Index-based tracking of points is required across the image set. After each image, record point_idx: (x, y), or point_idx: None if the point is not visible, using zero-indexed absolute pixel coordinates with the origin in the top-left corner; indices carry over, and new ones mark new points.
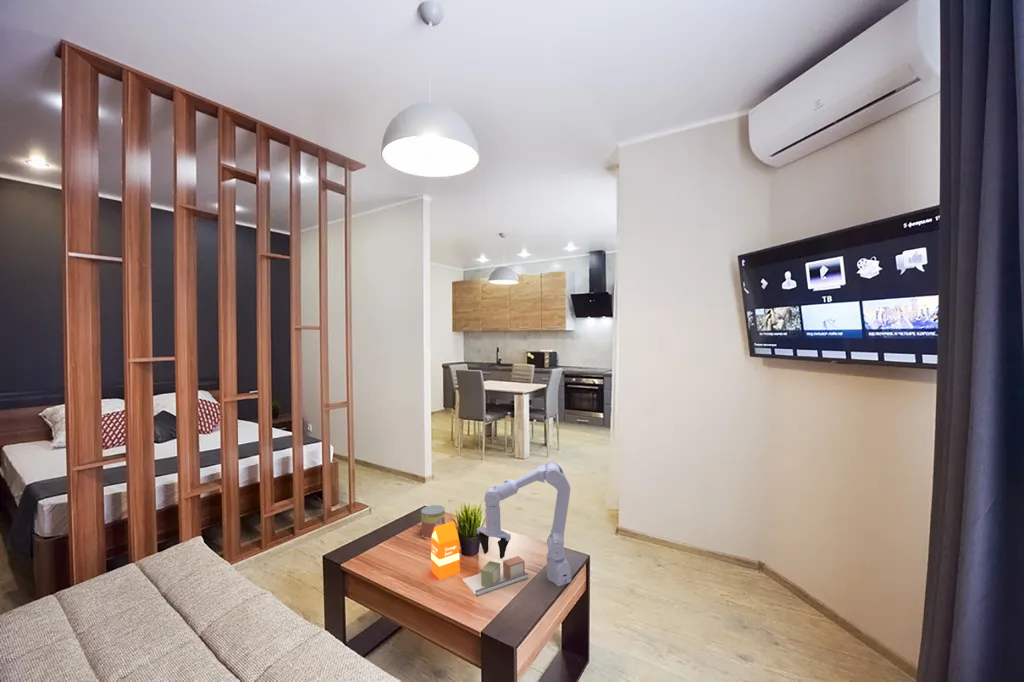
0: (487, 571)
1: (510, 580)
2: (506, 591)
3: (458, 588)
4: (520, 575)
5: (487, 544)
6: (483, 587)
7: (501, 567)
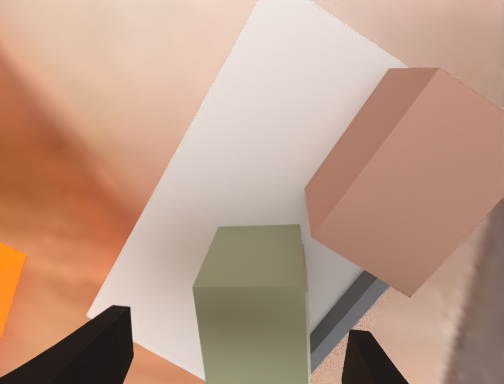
0: None
1: None
2: (389, 300)
3: None
4: None
5: (76, 377)
6: None
7: (228, 83)
